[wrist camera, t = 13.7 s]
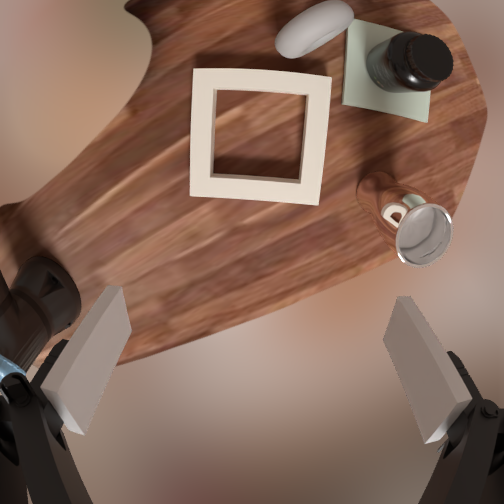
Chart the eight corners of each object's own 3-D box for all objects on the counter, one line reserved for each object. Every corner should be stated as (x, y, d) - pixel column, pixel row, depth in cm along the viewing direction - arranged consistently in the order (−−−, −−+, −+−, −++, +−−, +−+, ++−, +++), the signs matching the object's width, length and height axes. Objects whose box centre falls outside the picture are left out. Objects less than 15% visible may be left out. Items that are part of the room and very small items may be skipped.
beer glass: (392, 221, 40) (440, 274, 27) (348, 212, 40) (384, 265, 27) (405, 174, 37) (464, 210, 24) (359, 162, 37) (406, 193, 24)
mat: (341, 104, 34) (343, 104, 33) (346, 19, 28) (348, 17, 28) (424, 122, 34) (427, 122, 33) (428, 42, 28) (432, 41, 27)
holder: (194, 190, 40) (189, 196, 38) (198, 71, 33) (193, 68, 31) (315, 199, 40) (318, 205, 37) (327, 79, 32) (331, 77, 30)
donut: (331, 11, 28) (349, -16, 19) (348, 31, 29) (372, 10, 20) (268, 48, 31) (268, 28, 22) (285, 69, 32) (291, 55, 23)
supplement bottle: (386, 34, 28) (429, 11, 17) (421, 73, 30) (473, 67, 19) (353, 64, 30) (388, 47, 20) (390, 104, 32) (436, 105, 21)
